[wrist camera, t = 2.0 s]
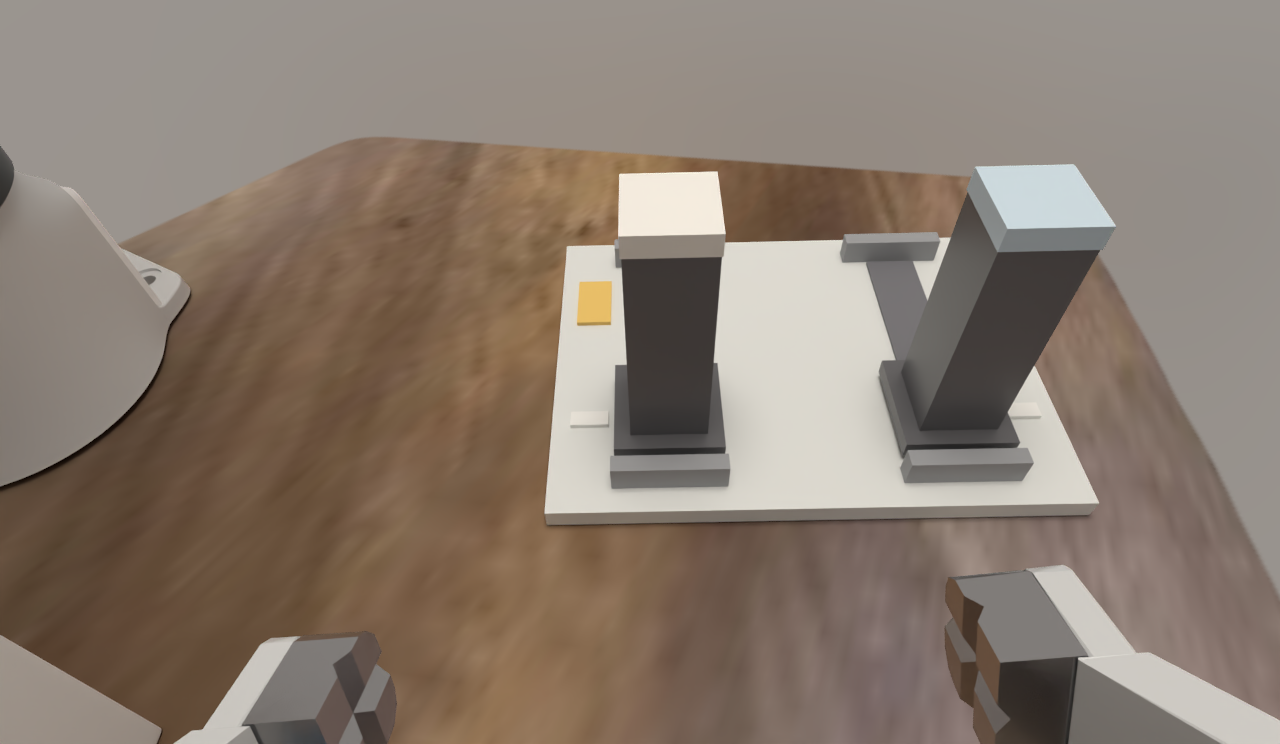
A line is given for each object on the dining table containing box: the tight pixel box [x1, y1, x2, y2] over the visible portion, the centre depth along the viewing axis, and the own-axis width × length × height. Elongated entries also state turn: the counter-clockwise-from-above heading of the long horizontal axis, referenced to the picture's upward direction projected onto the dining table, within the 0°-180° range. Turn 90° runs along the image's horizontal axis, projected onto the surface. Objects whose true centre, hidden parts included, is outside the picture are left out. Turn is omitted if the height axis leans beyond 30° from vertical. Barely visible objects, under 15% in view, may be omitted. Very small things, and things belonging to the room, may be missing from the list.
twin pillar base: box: [544, 232, 1099, 525], centre depth 38 cm, size 24×18×2 cm
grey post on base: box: [614, 172, 726, 456], centre depth 31 cm, size 5×5×12 cm
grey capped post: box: [878, 164, 1116, 455], centre depth 31 cm, size 5×5×12 cm
